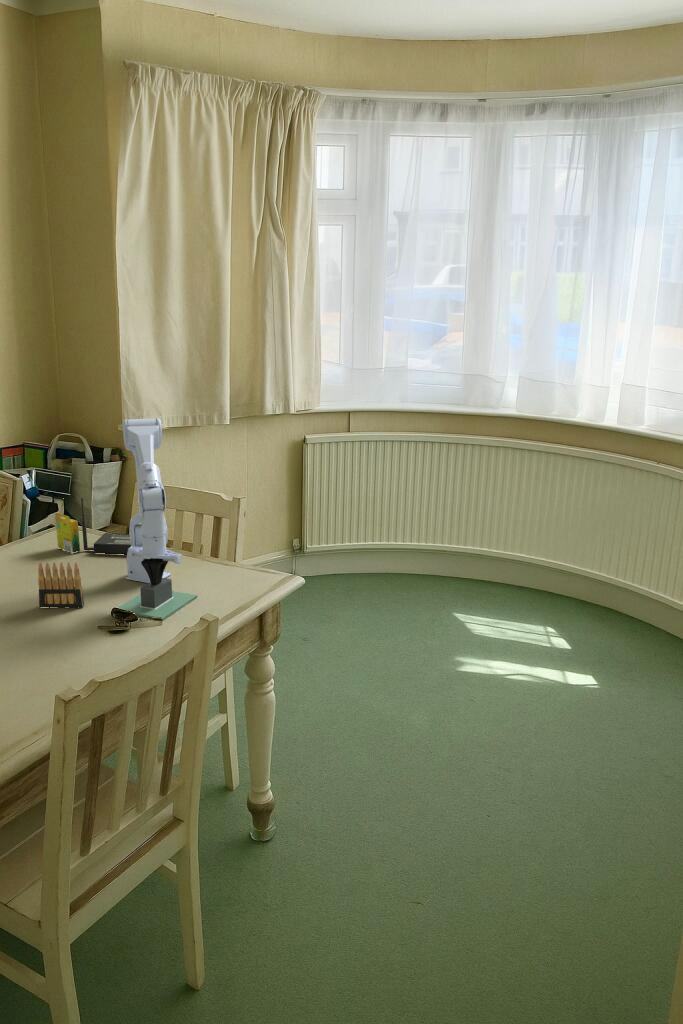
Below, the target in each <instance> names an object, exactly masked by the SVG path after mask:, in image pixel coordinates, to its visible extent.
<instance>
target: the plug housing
mask: <svg viewBox="0 0 683 1024" xmlns="http://www.w3.org/2000/svg"><path fill="white" fill-rule="evenodd" d="M172 582H173V581H172V579H171V578H167V577H166V578H162V580H161V583H159V584H158V585H151V582H149V583H145V584H144V585H143V586H140V594H141V606H143V607H149V608H154V609H155V608H157V607H158V606H160V605H161V604H163V603H164V602H166V601H167V600H169V599H170V598H172V591H173V586H172V585H173V583H172Z"/></svg>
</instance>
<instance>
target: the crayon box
mask: <svg viewBox="0 0 683 1024" xmlns="http://www.w3.org/2000/svg"><path fill="white" fill-rule="evenodd" d="M54 513H55V516H54V517H55V528H56V539H57V548H58V547H59V548H61V549H64V550H66V551H69V552H76V551H80V552H81V548H80V545H81V544H80V543H81V542H80V534H79V525H78V524H79V522H78V520H75V519H71V518H70V517H71V516H68V515H66V514H62V513H58V512H54Z"/></svg>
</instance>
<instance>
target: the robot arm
mask: <svg viewBox="0 0 683 1024" xmlns="http://www.w3.org/2000/svg"><path fill="white" fill-rule="evenodd" d="M162 427H163V426H162V421H161V419H160V418H159V417H156V418H152V417H151V418H134V419H133V418H132V419H130V418H129V419H127V418H124V419H123V421H122V434H123V441H124V442H123V443H124V447H125V450H127V451H129V452H131V453H132V454H133V457H134V461H135V462H134V463H135V473H136V474H135V475H136V487H137V488H136V489H137V504H138V505H137V506H138V512H137V513H136V514H135V515H134V516H132V517H131V518H130V520H129V535H130V542H131V547H130V548H129V549H128V553H127V556H126V566H127V567H126V568H127V576H126V577H125V579H126V580H129V581H130V580H131V581H136V582H141V583H145V584H147V583H149V582H151V585H158V584H159V583H161V580H162V578H167V577H169V576H171V575H172V574H171V572H165V569H166V567H167V565H168V563H169V562H171V563H174V564H179V563H181V562H183V559H182V557H183V556H182V553H178V552H174V551H173V550H169V549H167V544H168V542H169V540H168V539H169V538H168V537H169V535H168V526H167V520H166V517H165V510H166V507H167V499H166V498H167V497H166V496H167V495H166V490H165V488H164V484H163V483H162V477H161V470H160V467H159V465H157V464H155V451H156V450H157V449H160V446H161V443H162V440H163V430H162V429H163V428H162Z"/></svg>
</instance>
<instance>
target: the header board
mask: <svg viewBox="0 0 683 1024" xmlns="http://www.w3.org/2000/svg"><path fill="white" fill-rule="evenodd" d="M197 598H198V595H197V594H193V593H186V592H180V591H175V590H172V598H170V599H169V600H167V601H166V602H164V603H163V604H161V605H160V606H158V607H157V608H155V609H154V608H149V607H143V606H141V593H139V594H137V595H136V596H135V597H133V598H132V599H129V600H128V601H126V602H125V603H123V604H121V605H119V606H118V607H117V608H120V609H124V610H130V611H132V612H133V613H135V614H136V615H135V616H137V615H138V617H143V618H148V617H162V618H163V620H162V621H164V620H166V619H168V618H169V617H171V616H172V615H174V614H175V613H176V612H178V611H180V610H181V609H182V608H184V607H186V606H187V605H189V604H190V603H191V602H193V601H194V600H196V599H197Z"/></svg>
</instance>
